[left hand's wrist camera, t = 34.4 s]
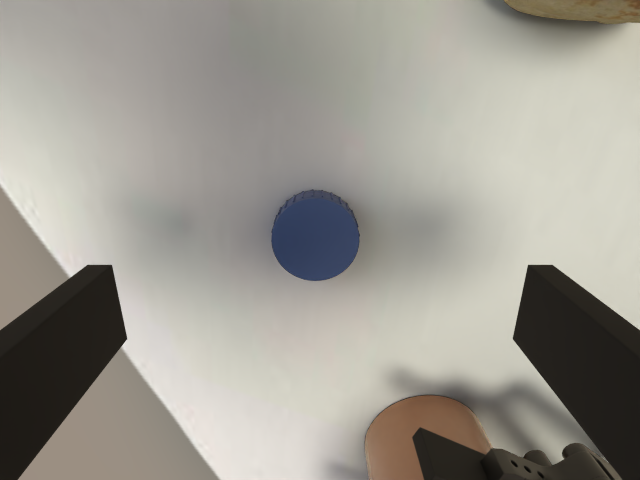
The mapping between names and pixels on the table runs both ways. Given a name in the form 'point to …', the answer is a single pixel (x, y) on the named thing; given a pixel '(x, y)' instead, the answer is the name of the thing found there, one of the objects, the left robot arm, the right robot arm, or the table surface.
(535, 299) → the left robot arm
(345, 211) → the cap
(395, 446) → the bottle
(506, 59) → the table surface
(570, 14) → the sculpture
